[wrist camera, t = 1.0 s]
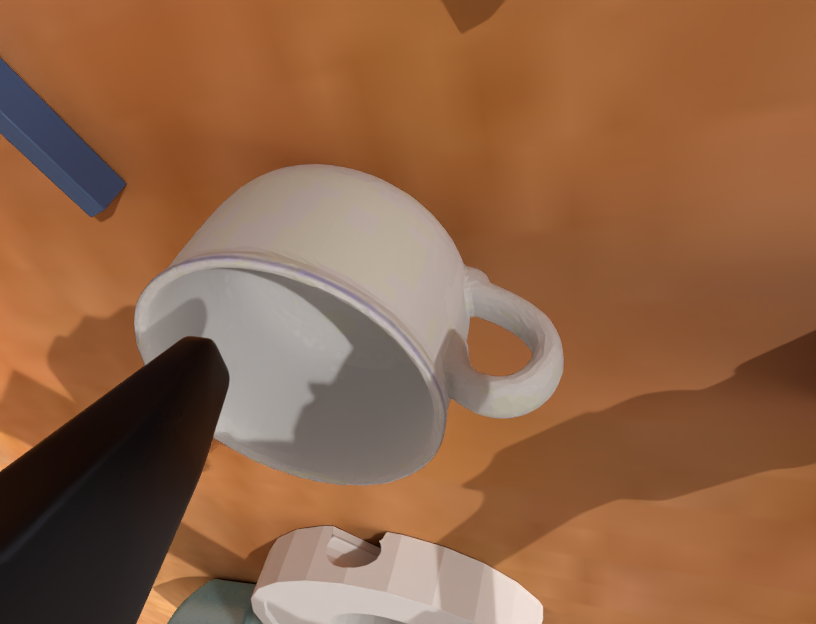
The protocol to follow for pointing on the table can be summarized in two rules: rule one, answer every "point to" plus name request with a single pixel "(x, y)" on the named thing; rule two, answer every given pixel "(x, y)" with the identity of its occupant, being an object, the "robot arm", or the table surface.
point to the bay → (54, 146)
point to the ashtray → (383, 583)
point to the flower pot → (218, 605)
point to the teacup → (340, 325)
